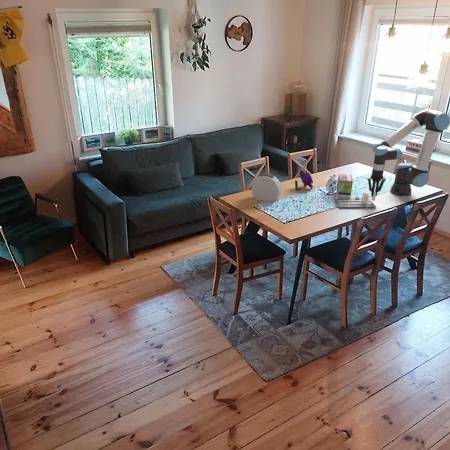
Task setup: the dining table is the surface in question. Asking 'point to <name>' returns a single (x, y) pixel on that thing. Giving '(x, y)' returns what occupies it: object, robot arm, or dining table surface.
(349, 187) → the tea box
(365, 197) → the fader
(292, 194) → the dining table surface
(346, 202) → the console
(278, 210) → the dining table surface
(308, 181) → the flower
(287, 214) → the dining table surface
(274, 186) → the alarm clock
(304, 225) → the dining table surface
